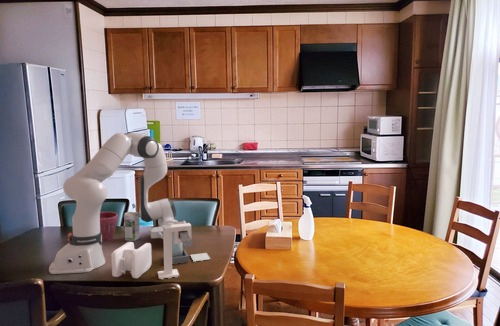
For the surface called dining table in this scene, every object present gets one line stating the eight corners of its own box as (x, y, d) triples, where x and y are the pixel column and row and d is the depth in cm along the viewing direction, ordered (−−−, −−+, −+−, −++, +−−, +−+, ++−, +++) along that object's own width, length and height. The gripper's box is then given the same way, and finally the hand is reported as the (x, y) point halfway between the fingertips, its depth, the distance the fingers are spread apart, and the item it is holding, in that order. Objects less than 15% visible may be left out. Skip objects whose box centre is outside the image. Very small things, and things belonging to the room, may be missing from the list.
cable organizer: (134, 282, 149) (133, 254, 147) (110, 279, 151) (109, 252, 149) (152, 267, 163) (151, 241, 162) (130, 265, 165) (129, 239, 164)
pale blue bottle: (172, 262, 168) (171, 233, 166) (170, 258, 173) (170, 230, 171) (183, 261, 170) (183, 232, 168) (181, 257, 174) (181, 229, 173)
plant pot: (109, 243, 191) (108, 219, 190) (84, 242, 194) (83, 218, 192) (123, 234, 205) (122, 212, 204) (99, 233, 208) (98, 210, 206)
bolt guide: (159, 279, 151) (158, 229, 148) (157, 273, 157) (156, 225, 154) (192, 275, 156) (191, 226, 153) (189, 269, 161) (189, 222, 158)
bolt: (183, 249, 142) (182, 239, 141) (174, 232, 162) (174, 223, 161) (193, 248, 143) (193, 238, 143) (183, 231, 163) (183, 223, 162)
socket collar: (168, 265, 166) (168, 258, 165) (165, 257, 174) (165, 251, 174) (188, 262, 169) (188, 256, 168) (185, 255, 177) (185, 249, 177)
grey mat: (193, 262, 169) (193, 261, 169) (190, 256, 176) (190, 254, 176) (210, 260, 171) (210, 258, 171) (206, 254, 179) (206, 252, 179)
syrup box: (124, 240, 197) (123, 213, 195) (130, 236, 202) (129, 210, 200) (134, 241, 195) (133, 214, 193) (140, 237, 201) (139, 211, 199)
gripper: (148, 223, 190) (150, 232, 177) (188, 220, 197) (193, 228, 184) (148, 235, 191) (151, 244, 178) (188, 231, 198) (193, 240, 185)
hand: (172, 236), depth 181 cm, fingers open, 8 cm apart
